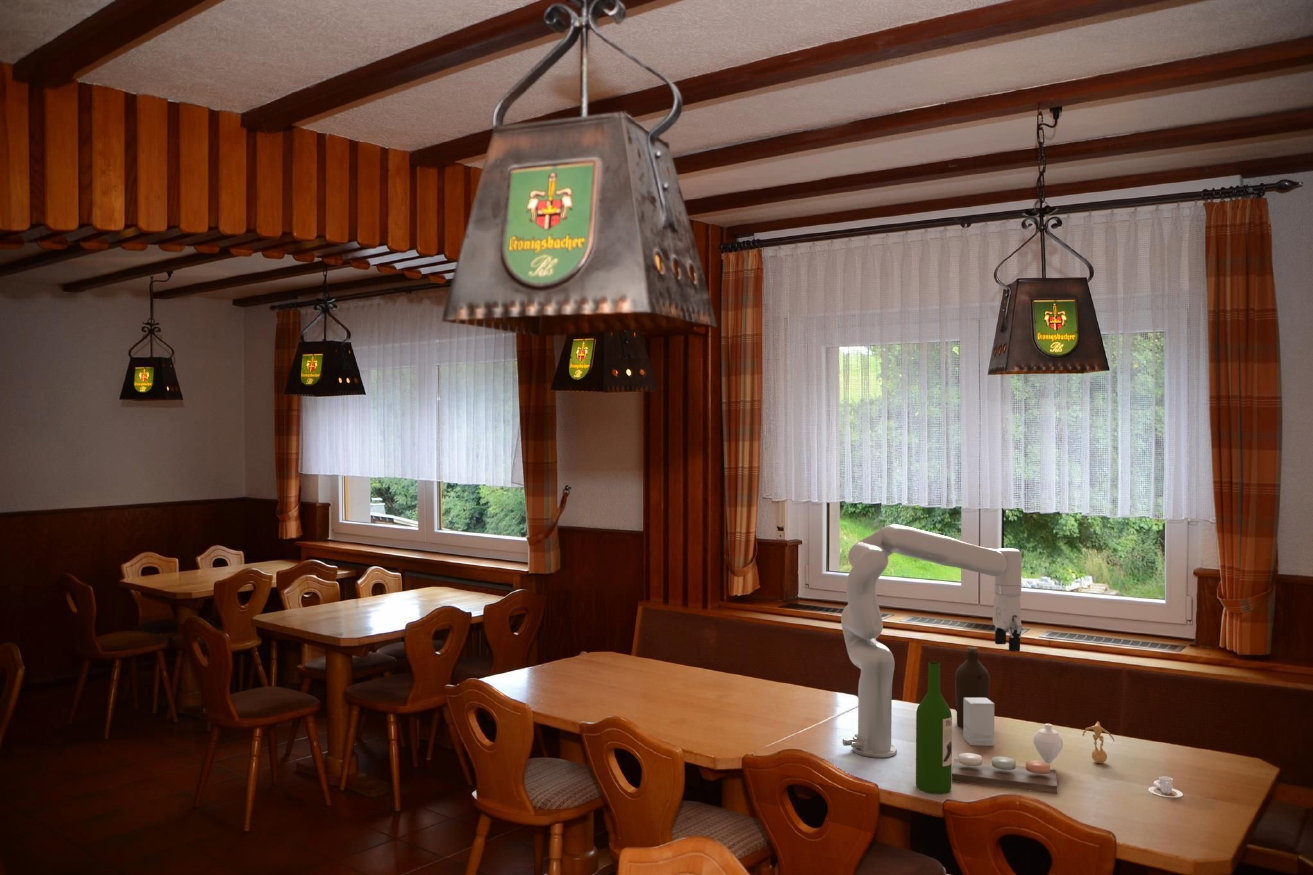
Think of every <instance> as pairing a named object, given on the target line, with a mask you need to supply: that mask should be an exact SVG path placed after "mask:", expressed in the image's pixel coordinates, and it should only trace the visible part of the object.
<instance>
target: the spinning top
mask: <svg viewBox="0 0 1313 875" xmlns="http://www.w3.org/2000/svg"><path fill="white" fill-rule="evenodd" d="M1032 741H1033V744H1034V747H1035V749H1036V751H1037V753H1038V755H1040V757H1041V759H1042V761H1043V762H1046V763H1048V764H1050V765H1051V763H1053V761H1054V760H1055V759H1056V758H1057V757H1058V755H1059V754H1060V753H1061V751H1062V749H1063V746H1064V740H1063V737H1062V736H1061V735H1060V733H1059V732H1058V731H1057V730H1054V729H1053V724H1051V723H1045V724H1044V728H1041V729H1038V731H1037V732H1036V733H1035V734H1034V736H1033V740H1032Z"/></svg>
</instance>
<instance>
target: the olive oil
mask: <svg viewBox="0 0 1313 875" xmlns="http://www.w3.org/2000/svg"><path fill="white" fill-rule="evenodd" d="M966 656H967V657H966V660H964V662H962V663H961V664H960V665H959V666H958V668H957V669H956V672H955V675H954V682H955V683H954V684H955V685H954V686H955V703H956V704H955V712H956V726H958V727H960V728H961V729H963V701H964V698H988V699H989V700H990V686H991V677H990V673H989V671H988V670H987V668H986V667H985V666H984V665H983V664H982V662H981V661H980V660H979V649H978V647H976V646H967V652H966Z"/></svg>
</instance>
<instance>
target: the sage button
mask: <svg viewBox="0 0 1313 875" xmlns="http://www.w3.org/2000/svg"><path fill="white" fill-rule="evenodd" d="M1016 762H1017V761H1016V760H1015V759H1013V758H1010V757H1007V756H994V757H991V763H992V766H993V767H995V768H997V769H1002V770H1013V769H1015V768H1016V766H1017V765H1016V764H1017V763H1016Z"/></svg>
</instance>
